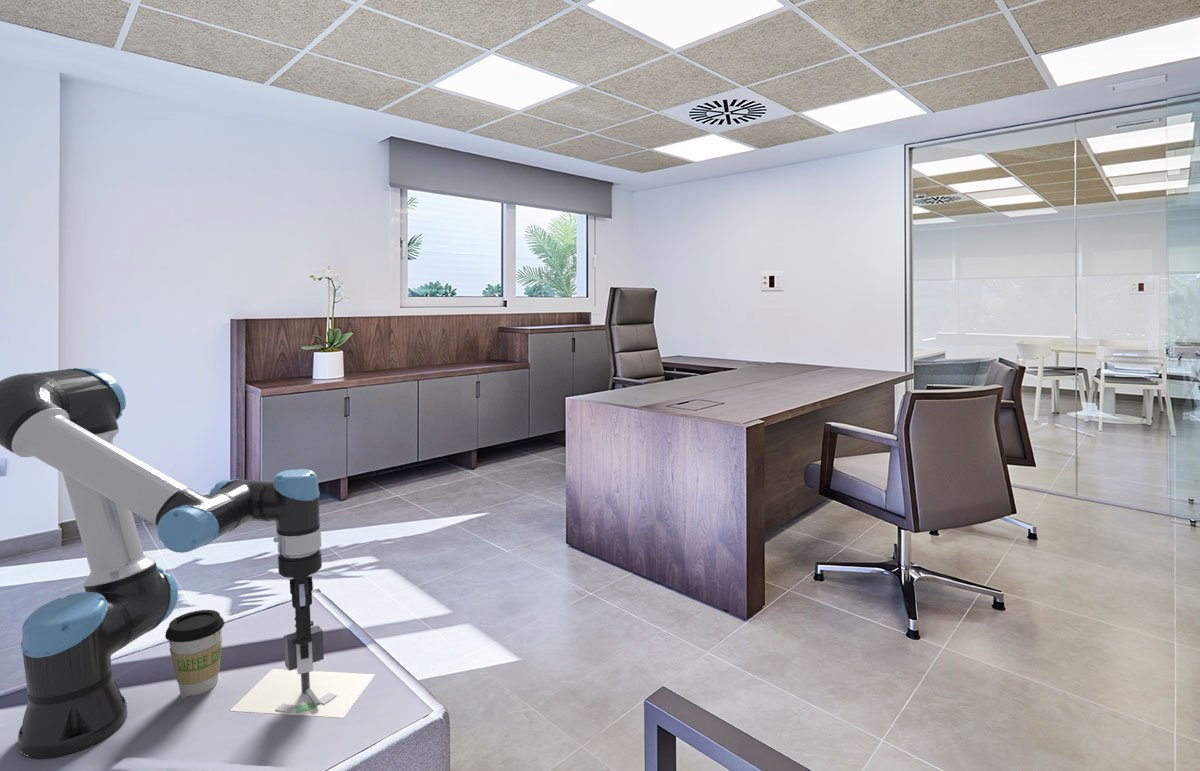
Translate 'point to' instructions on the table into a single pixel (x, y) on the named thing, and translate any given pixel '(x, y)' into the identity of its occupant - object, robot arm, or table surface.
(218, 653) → the coffee cup
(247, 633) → the table surface
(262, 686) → the flat cream board
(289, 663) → the dark grey angular piece
